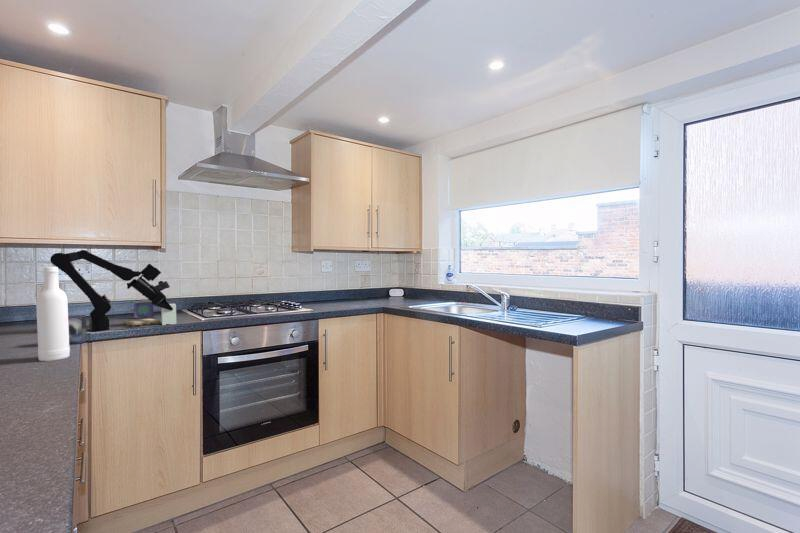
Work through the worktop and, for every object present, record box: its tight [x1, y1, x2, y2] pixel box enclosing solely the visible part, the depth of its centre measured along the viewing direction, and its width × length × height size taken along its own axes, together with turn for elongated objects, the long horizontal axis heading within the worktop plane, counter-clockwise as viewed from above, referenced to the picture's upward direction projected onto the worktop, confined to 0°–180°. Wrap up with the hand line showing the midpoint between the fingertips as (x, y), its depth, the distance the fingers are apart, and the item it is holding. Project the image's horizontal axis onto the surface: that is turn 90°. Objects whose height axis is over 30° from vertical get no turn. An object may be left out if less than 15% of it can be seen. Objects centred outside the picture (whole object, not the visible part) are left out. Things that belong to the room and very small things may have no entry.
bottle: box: [35, 266, 71, 362], centre depth 133 cm, size 8×8×30 cm
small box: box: [68, 314, 88, 346], centre depth 156 cm, size 11×6×10 cm, turn 114°
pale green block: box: [160, 302, 177, 326], centre depth 200 cm, size 6×6×10 cm
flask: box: [133, 297, 155, 319], centre depth 221 cm, size 9×3×11 cm, turn 109°
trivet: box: [122, 318, 161, 327], centre depth 202 cm, size 12×12×1 cm
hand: (171, 309), depth 201 cm, fingers closed on pale green block, 6 cm apart
